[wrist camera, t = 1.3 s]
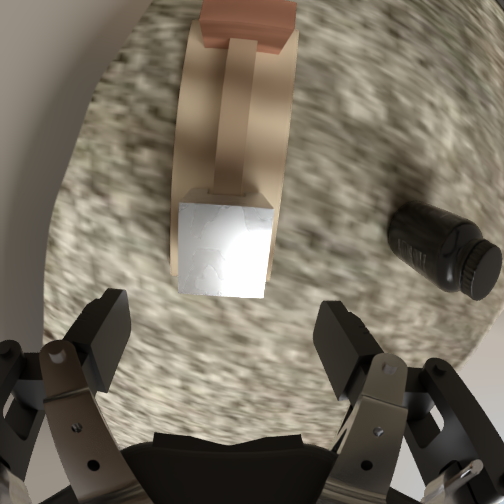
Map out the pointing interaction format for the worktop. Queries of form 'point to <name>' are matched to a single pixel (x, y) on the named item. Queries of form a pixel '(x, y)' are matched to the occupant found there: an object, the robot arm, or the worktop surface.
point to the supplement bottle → (445, 249)
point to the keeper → (223, 243)
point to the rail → (207, 122)
